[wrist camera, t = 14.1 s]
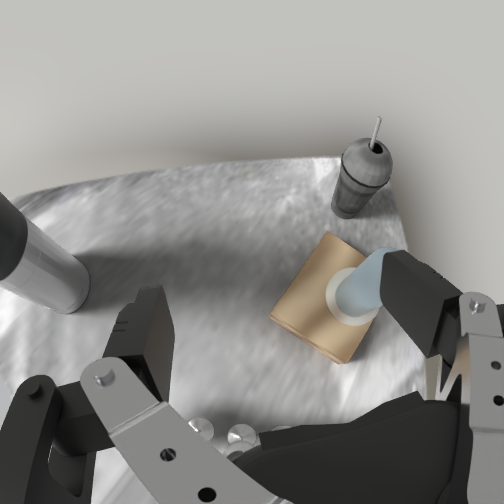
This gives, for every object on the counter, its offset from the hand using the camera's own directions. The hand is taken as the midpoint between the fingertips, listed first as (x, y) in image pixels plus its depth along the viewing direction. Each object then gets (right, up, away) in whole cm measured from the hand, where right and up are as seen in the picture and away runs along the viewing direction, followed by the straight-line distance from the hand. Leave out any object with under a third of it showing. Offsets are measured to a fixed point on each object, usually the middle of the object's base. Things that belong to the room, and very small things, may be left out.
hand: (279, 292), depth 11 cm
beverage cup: (+14, +9, +39) cm, 43 cm away
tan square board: (+10, -6, +33) cm, 35 cm away
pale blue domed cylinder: (+13, -5, +29) cm, 32 cm away
